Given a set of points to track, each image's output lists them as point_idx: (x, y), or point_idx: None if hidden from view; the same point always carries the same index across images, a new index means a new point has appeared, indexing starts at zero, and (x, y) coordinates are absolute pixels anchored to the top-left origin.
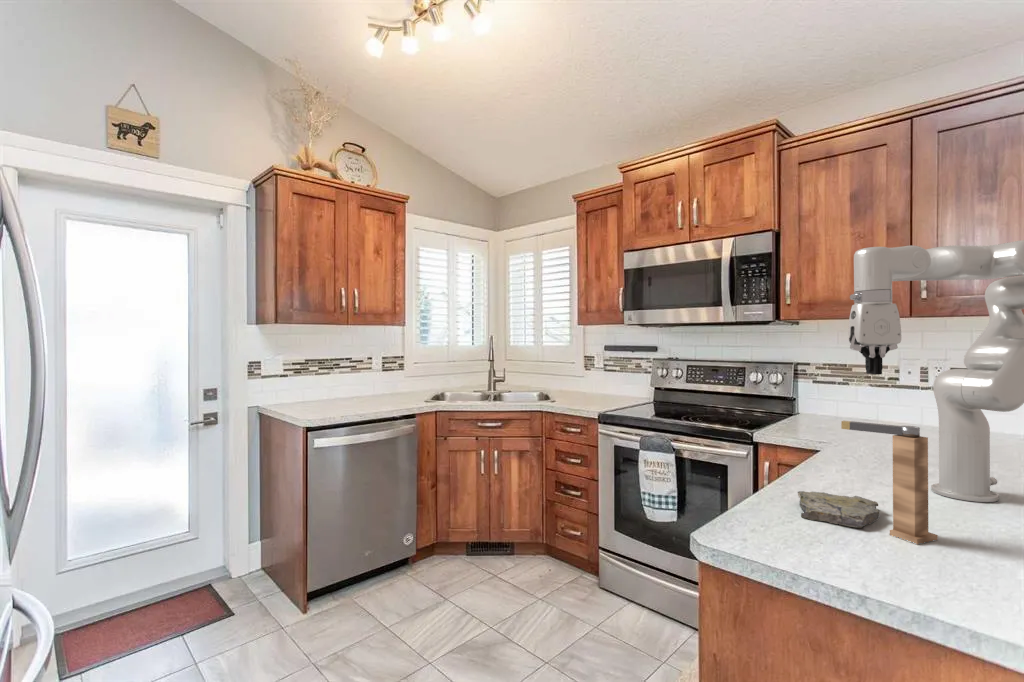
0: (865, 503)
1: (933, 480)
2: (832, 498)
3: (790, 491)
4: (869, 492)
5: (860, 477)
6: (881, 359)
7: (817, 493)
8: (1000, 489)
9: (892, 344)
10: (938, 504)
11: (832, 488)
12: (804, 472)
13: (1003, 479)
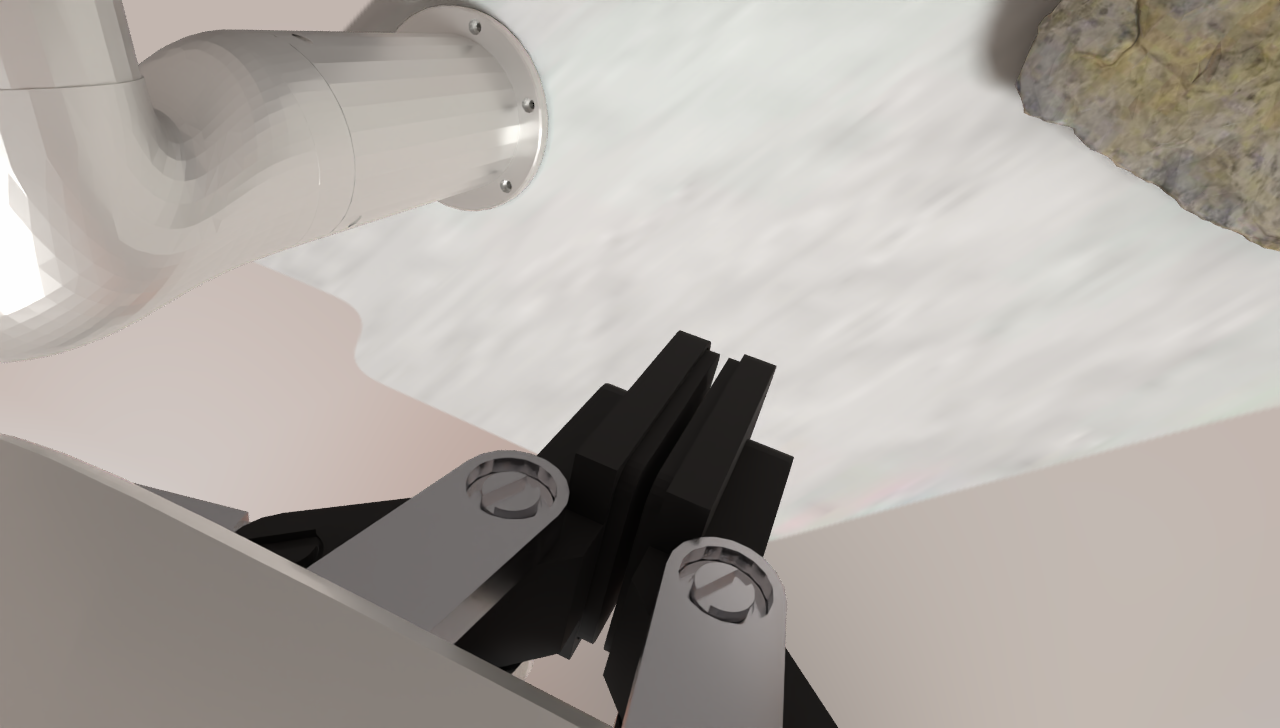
0: (1139, 4)
1: (417, 275)
2: (1262, 98)
3: (1098, 378)
4: (768, 249)
5: None
6: (594, 439)
7: (1248, 188)
8: None
9: (136, 488)
10: (657, 44)
11: (862, 340)
12: None
13: None
